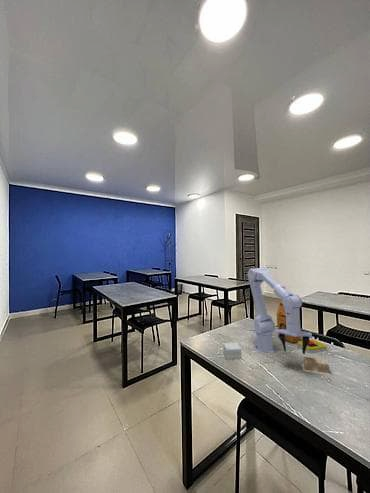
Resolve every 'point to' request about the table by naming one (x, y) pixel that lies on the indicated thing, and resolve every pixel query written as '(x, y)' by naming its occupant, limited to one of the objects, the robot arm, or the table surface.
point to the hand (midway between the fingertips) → (294, 351)
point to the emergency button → (313, 347)
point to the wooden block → (316, 365)
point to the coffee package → (282, 323)
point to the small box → (232, 351)
